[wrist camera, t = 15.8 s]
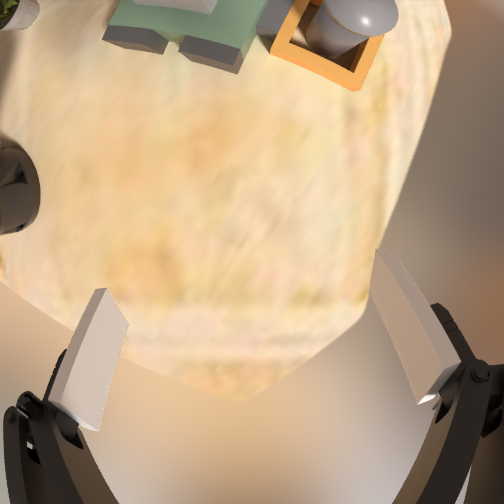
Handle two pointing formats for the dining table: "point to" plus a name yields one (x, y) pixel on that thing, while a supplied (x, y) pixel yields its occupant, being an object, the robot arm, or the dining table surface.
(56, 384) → the robot arm
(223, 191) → the dining table surface
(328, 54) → the grey flared cylinder
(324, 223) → the dining table surface
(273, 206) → the dining table surface
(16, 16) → the house plant
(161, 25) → the green corner-block plate
